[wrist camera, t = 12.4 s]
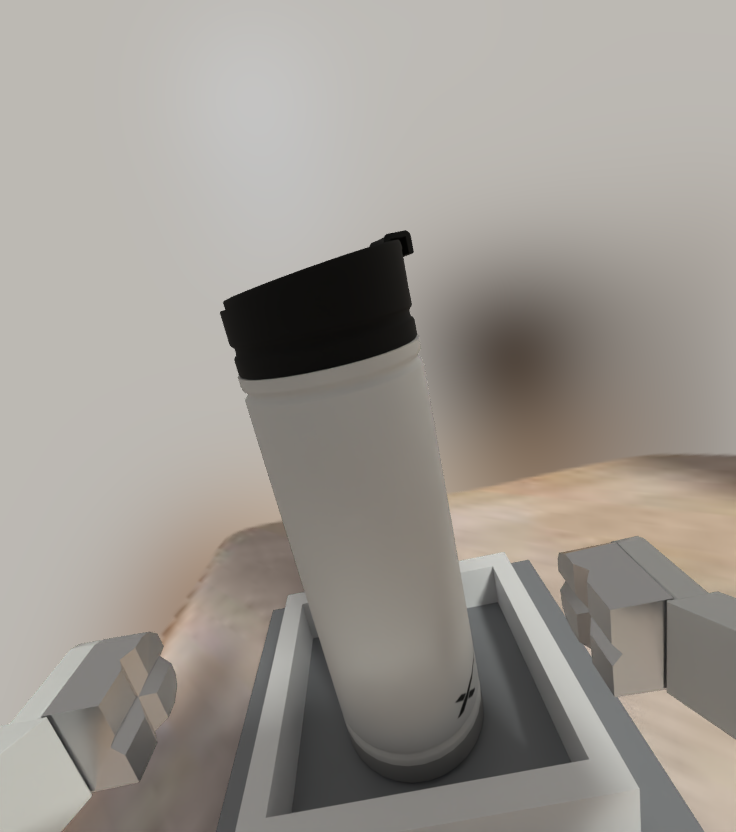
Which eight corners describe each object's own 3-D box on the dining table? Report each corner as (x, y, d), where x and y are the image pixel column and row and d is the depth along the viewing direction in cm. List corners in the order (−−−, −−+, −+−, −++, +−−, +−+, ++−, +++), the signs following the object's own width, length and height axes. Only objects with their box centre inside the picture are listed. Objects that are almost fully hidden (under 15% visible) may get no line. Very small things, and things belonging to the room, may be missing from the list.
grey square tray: (530, 575, 27) (524, 526, 26) (759, 945, 12) (768, 864, 11) (278, 624, 28) (262, 579, 27) (181, 1041, 12) (135, 972, 11)
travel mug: (521, 741, 17) (445, 211, 11) (368, 817, 15) (191, 260, 10) (451, 631, 23) (377, 247, 17) (336, 679, 21) (214, 280, 16)
